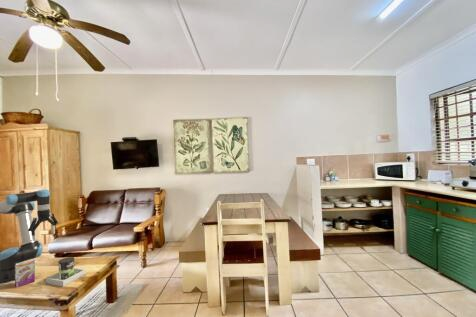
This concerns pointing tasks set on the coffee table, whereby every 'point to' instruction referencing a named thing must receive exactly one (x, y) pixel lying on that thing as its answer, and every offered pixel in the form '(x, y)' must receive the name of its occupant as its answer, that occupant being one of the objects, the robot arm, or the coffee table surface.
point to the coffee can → (66, 268)
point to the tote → (55, 279)
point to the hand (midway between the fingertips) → (44, 236)
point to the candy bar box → (24, 273)
